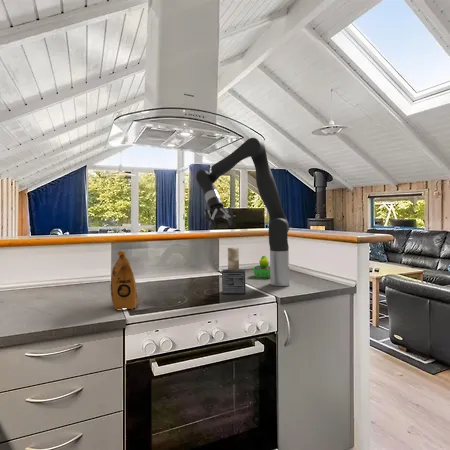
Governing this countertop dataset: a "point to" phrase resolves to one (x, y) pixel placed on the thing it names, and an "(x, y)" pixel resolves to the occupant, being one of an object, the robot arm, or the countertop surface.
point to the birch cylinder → (233, 259)
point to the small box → (233, 282)
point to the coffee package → (123, 284)
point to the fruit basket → (262, 268)
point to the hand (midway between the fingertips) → (223, 226)
